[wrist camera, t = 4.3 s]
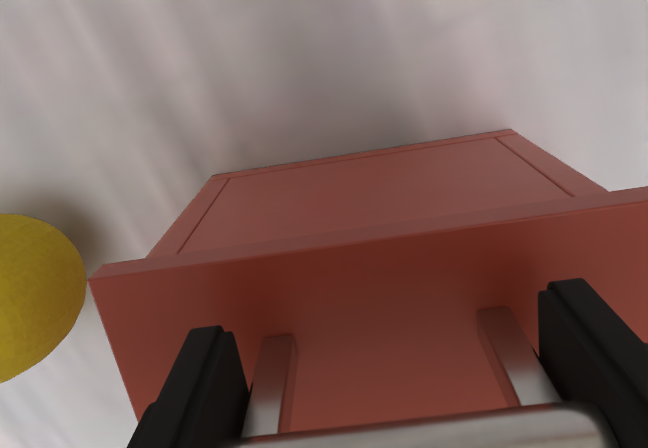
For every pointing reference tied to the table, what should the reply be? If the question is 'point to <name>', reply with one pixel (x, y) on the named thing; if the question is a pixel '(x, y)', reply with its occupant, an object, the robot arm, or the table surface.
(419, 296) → the bin lid
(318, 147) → the table surface
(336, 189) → the bin
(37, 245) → the lemon
